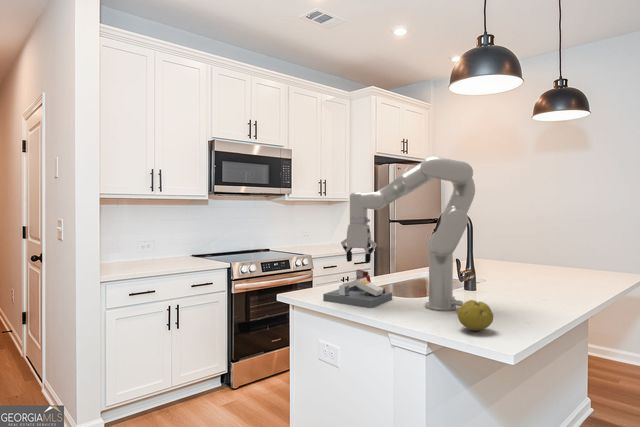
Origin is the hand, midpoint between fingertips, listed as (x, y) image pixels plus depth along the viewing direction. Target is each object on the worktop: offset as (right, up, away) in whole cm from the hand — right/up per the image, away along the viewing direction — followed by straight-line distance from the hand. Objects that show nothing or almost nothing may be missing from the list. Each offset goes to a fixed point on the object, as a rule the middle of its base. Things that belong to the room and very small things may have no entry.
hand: (358, 262), depth 180 cm
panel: (+1, -18, +8) cm, 20 cm away
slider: (-6, -15, +4) cm, 16 cm away
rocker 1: (0, -13, +16) cm, 20 cm away
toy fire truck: (+5, -18, +27) cm, 33 cm away
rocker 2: (+5, -13, +5) cm, 15 cm away
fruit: (+36, -19, -38) cm, 56 cm away
